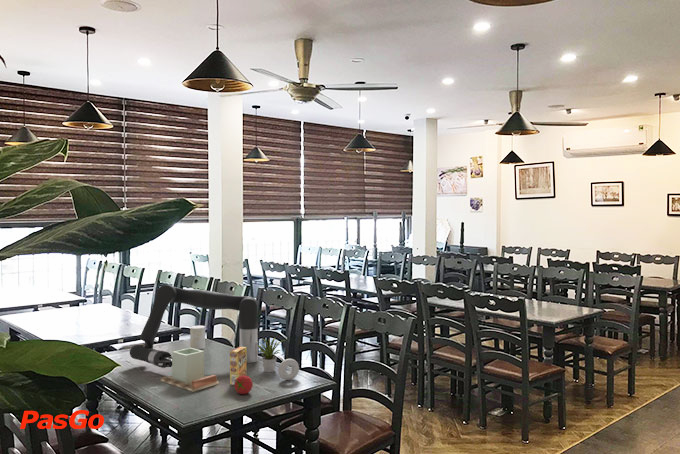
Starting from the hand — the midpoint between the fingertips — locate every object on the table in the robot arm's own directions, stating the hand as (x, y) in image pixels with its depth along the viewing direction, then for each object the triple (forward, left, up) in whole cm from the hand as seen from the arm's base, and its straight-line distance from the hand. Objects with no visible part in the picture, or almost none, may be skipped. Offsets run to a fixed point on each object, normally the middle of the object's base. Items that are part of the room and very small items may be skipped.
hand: (181, 364), depth 251 cm
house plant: (-41, -12, -7) cm, 43 cm away
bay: (-4, +4, -7) cm, 9 cm away
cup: (+1, -60, -7) cm, 60 cm away
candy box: (-26, +6, -7) cm, 28 cm away
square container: (-3, +4, -6) cm, 8 cm away
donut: (-49, +5, -7) cm, 50 cm away
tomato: (-29, +22, -7) cm, 37 cm away
